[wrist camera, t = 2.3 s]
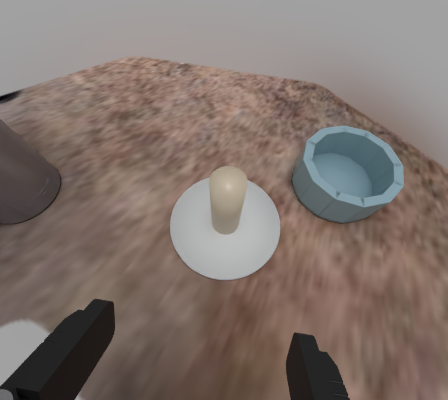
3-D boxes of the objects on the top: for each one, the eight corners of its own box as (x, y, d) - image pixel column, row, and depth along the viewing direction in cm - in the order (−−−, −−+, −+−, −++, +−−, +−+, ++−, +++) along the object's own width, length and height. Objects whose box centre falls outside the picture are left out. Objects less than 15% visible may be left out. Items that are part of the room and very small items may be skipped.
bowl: (284, 207, 28) (297, 188, 24) (299, 144, 33) (311, 117, 29) (374, 234, 27) (405, 218, 22) (376, 163, 32) (401, 139, 27)
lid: (152, 258, 25) (117, 228, 16) (195, 168, 31) (185, 110, 22) (264, 297, 24) (291, 288, 15) (287, 195, 29) (317, 144, 20)
